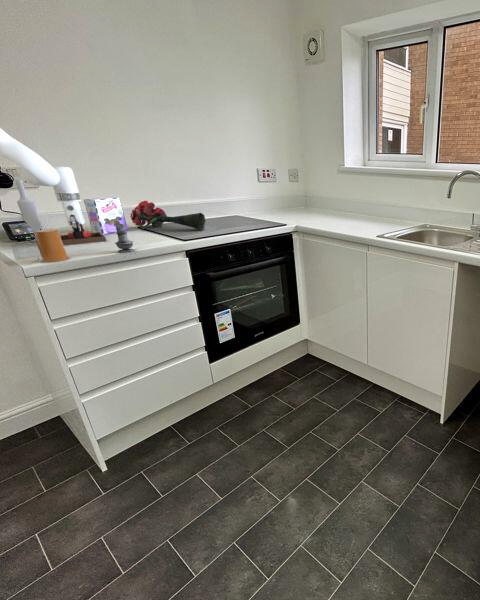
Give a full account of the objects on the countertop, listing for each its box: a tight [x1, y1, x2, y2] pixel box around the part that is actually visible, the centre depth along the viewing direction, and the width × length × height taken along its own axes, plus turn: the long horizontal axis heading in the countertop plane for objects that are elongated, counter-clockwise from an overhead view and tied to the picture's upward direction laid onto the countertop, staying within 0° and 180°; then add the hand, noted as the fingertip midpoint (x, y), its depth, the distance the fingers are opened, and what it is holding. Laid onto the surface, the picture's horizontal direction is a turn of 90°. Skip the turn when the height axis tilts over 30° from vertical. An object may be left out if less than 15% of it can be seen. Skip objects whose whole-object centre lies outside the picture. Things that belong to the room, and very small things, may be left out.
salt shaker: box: [114, 222, 135, 254], centre depth 139 cm, size 6×6×12 cm
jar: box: [34, 228, 69, 263], centre depth 124 cm, size 7×7×11 cm
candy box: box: [83, 196, 128, 236], centre depth 171 cm, size 14×6×16 cm, turn 171°
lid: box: [67, 230, 91, 238], centre depth 154 cm, size 7×7×2 cm
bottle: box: [14, 179, 44, 243], centre depth 148 cm, size 5×5×25 cm
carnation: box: [130, 200, 206, 231], centre depth 186 cm, size 16×18×35 cm
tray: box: [60, 232, 107, 246], centre depth 154 cm, size 15×13×2 cm
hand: (80, 238), depth 154 cm, fingers closed on lid, 7 cm apart
